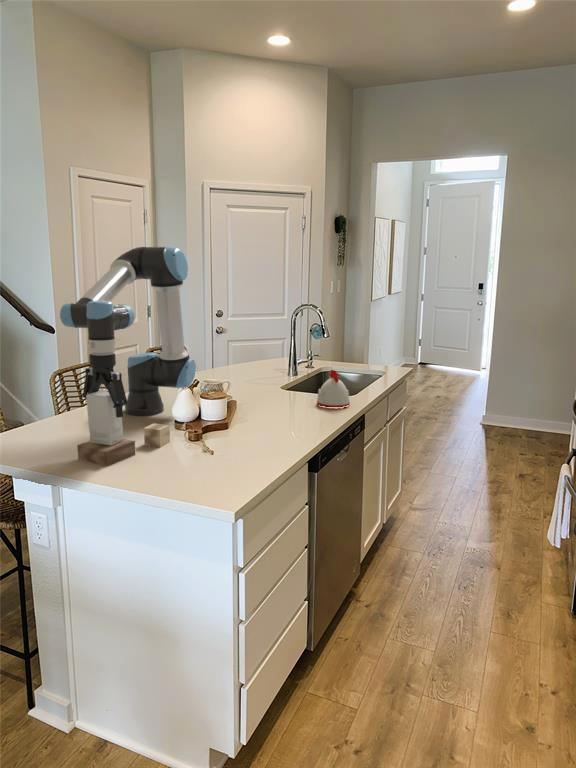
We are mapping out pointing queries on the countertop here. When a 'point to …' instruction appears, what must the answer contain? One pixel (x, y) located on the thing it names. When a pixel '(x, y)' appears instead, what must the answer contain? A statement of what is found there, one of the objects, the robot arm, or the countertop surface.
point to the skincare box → (102, 419)
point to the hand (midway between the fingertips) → (105, 424)
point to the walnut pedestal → (106, 452)
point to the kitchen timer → (333, 392)
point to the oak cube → (156, 435)
